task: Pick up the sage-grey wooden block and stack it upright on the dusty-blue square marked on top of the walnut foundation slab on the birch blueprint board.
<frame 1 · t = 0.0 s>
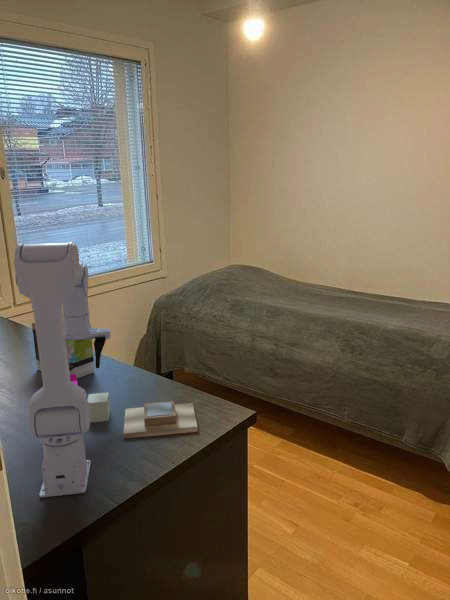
hand: (81, 367, 112), 10 cm above the table, tool pointing down, fingers open, 7 cm apart
toy block: (65, 393, 122), on the table, touching tea box
tea box: (66, 371, 135), on the table, touching toy block
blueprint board: (160, 422, 108), on the table
sage block: (99, 416, 110), on the table
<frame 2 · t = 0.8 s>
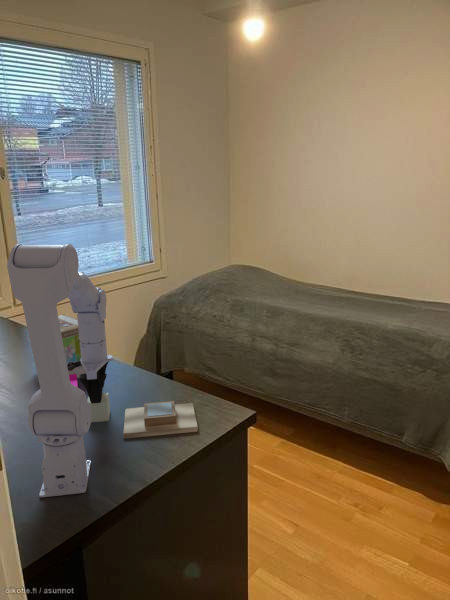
hand: (97, 394, 109), 6 cm above the table, tool pointing down, fingers open, 7 cm apart
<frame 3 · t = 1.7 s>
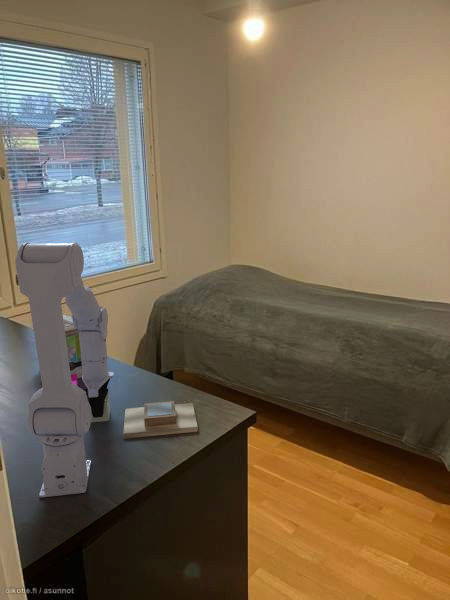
hand: (99, 411, 110), 1 cm above the table, tool pointing down, fingers closed on sage block, 4 cm apart
sage block: (99, 416, 110), on the table, touching gripper
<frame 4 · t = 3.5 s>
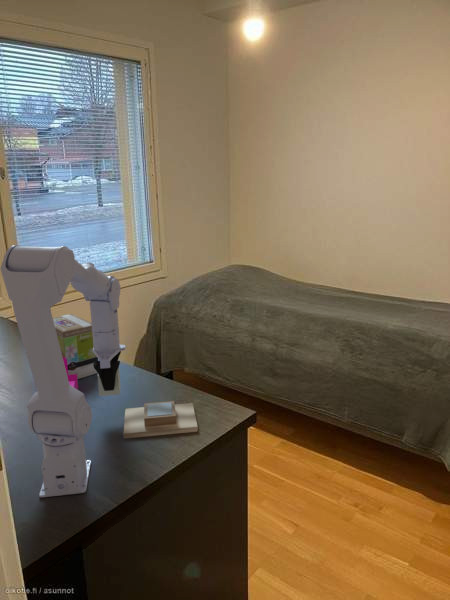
hand: (109, 384, 107), 8 cm above the table, tool pointing down, fingers closed on sage block, 4 cm apart
sage block: (110, 390, 108), point 7 cm above the table, touching gripper
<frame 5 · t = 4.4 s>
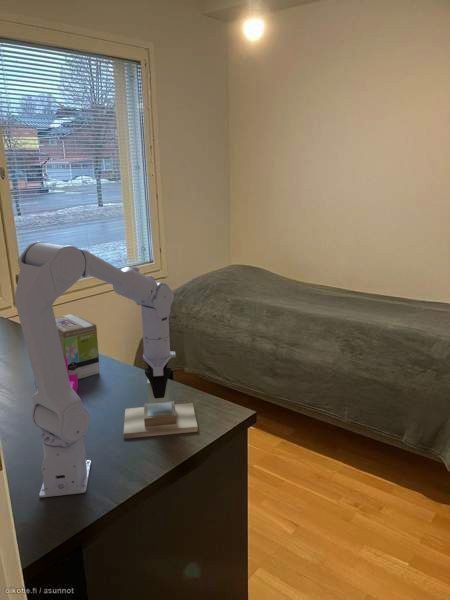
hand: (159, 392, 106), 8 cm above the table, tool pointing down, fingers closed on sage block, 4 cm apart
sage block: (158, 398, 106), point 6 cm above the table, touching gripper
when the fingers open (6 cm above the table, at t = 5.1 s): sage block stays where it is, resting on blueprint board.
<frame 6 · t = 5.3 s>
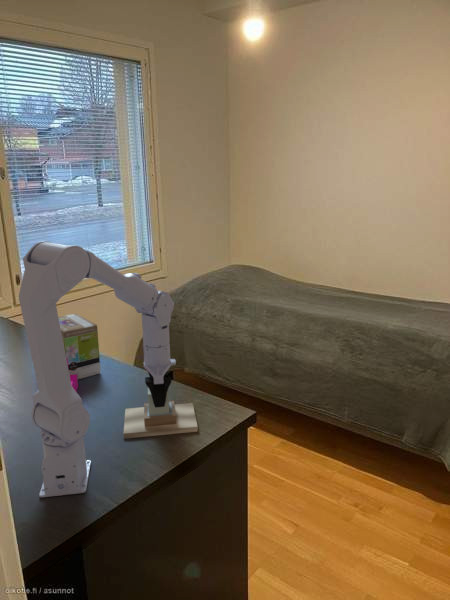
hand: (159, 399, 106), 6 cm above the table, tool pointing down, fingers open, 6 cm apart
sage block: (159, 409, 107), point 3 cm above the table, touching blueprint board
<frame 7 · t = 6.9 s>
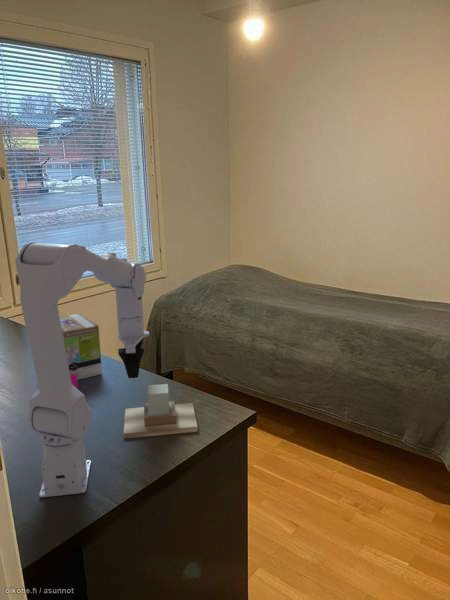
hand: (133, 370, 110), 10 cm above the table, tool pointing down, fingers open, 7 cm apart
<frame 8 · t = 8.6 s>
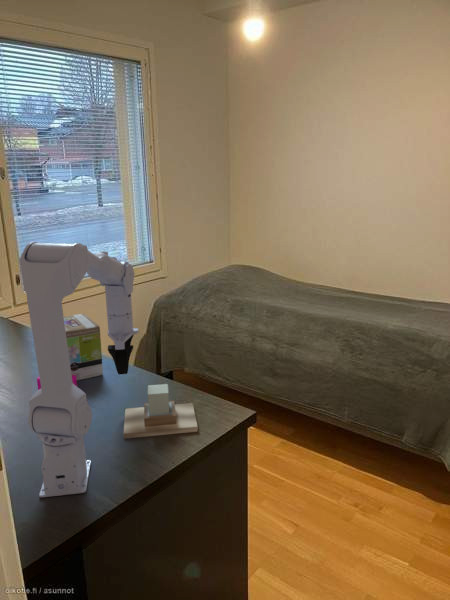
hand: (123, 366, 112), 10 cm above the table, tool pointing down, fingers open, 7 cm apart
at the end: sage block 0.2 cm off-centre on the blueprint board, point 3.3 cm above the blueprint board's base; sage block tilted 0°; the gripper is holding nothing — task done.
